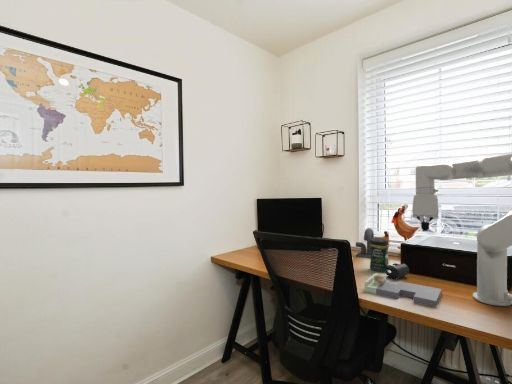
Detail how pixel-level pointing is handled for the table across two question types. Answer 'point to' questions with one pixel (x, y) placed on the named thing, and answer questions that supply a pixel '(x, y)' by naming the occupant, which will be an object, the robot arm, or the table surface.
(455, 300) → the table surface
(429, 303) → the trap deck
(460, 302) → the table surface
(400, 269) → the dark grey motor
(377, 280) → the maple block
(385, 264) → the coffee jar
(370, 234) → the faucet
